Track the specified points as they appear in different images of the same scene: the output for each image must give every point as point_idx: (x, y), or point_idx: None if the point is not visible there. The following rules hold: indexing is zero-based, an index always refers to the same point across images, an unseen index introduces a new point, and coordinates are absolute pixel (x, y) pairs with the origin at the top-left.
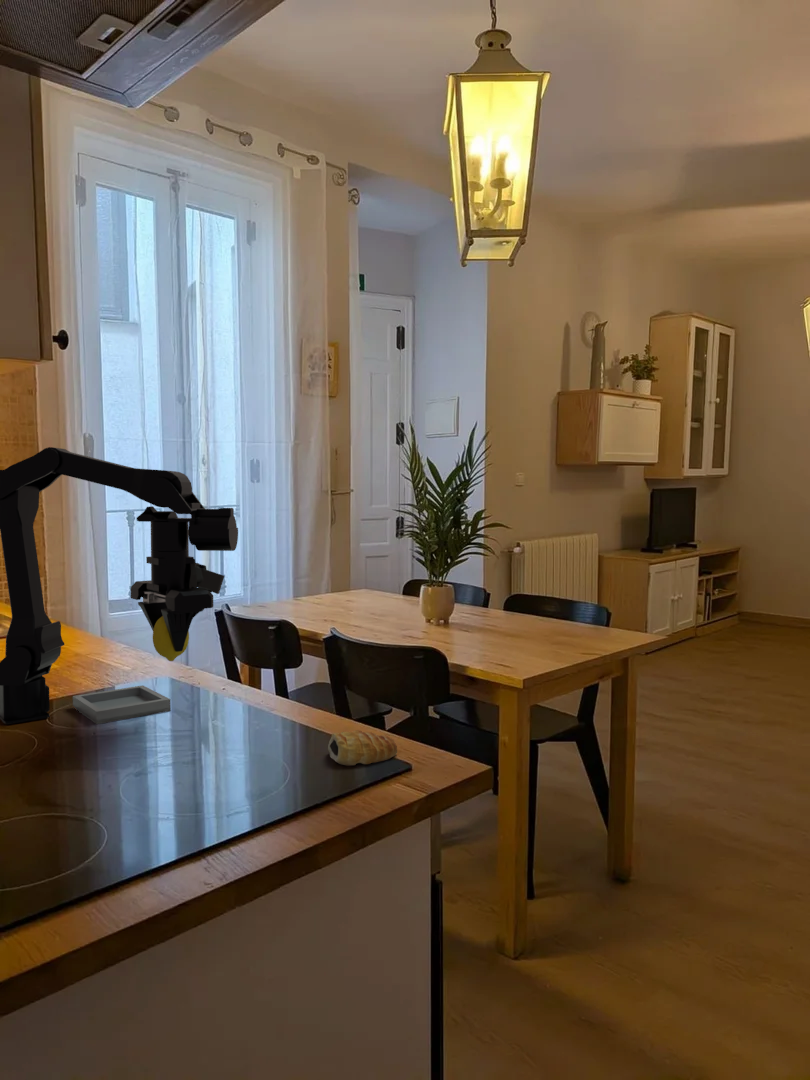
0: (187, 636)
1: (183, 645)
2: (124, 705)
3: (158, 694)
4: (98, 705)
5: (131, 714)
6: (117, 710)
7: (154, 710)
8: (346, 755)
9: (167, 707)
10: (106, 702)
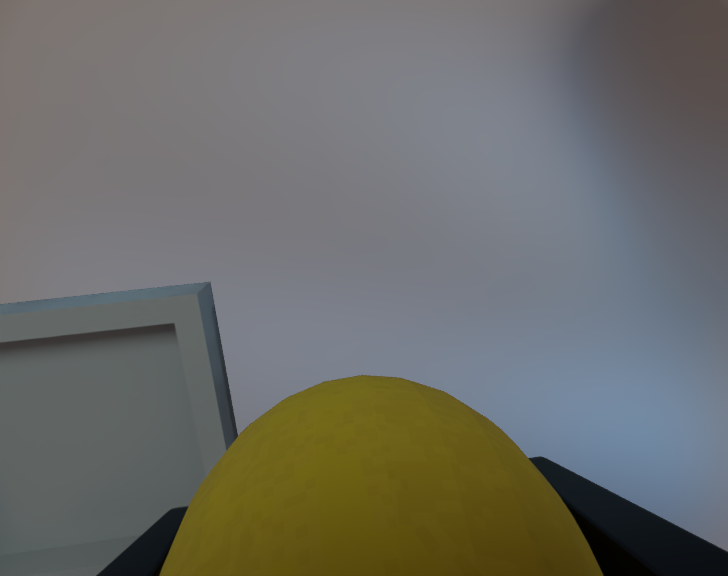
0: (529, 463)
1: (581, 480)
2: (208, 471)
3: (81, 315)
4: (40, 507)
5: (234, 431)
6: None
7: (217, 349)
8: None
9: (207, 298)
10: (2, 477)
